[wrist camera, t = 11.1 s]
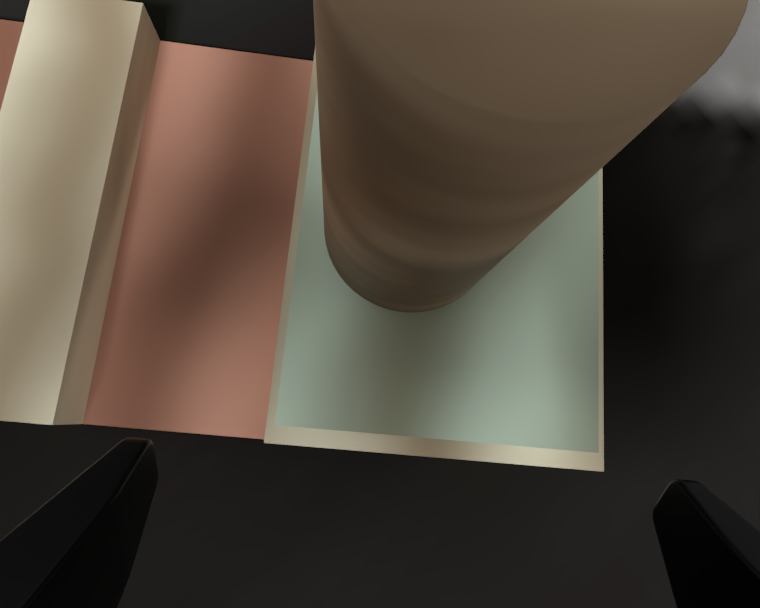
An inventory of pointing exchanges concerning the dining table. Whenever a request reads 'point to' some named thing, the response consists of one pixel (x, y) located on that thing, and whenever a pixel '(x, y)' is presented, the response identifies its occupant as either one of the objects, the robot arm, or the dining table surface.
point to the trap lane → (253, 267)
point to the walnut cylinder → (483, 122)
